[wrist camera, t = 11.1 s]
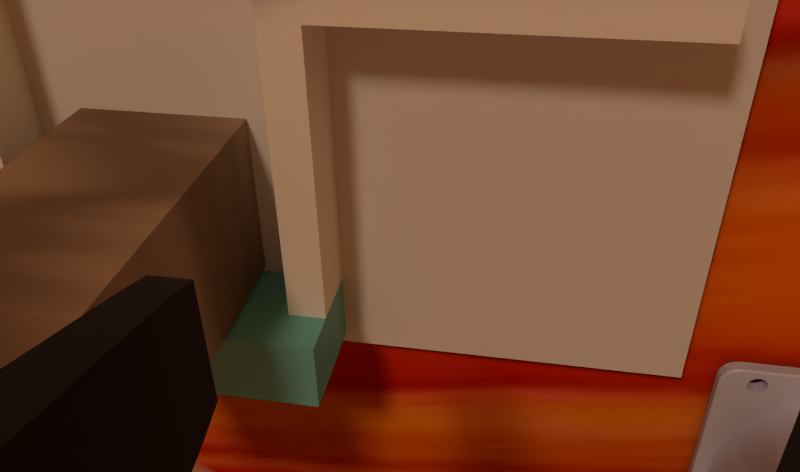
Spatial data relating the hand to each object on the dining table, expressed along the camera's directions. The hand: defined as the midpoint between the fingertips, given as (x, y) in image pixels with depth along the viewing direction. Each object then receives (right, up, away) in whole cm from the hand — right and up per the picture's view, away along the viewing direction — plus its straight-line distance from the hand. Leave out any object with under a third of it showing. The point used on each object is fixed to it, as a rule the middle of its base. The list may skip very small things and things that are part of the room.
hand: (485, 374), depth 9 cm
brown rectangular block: (-7, +3, +11) cm, 14 cm away
